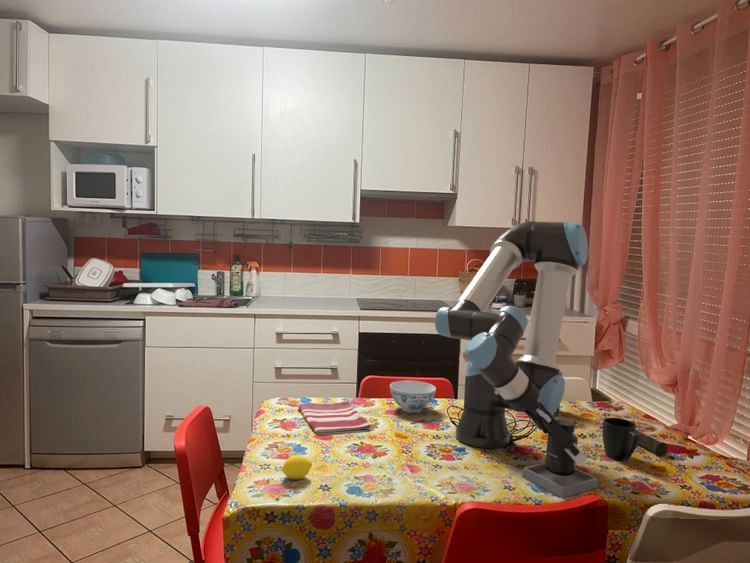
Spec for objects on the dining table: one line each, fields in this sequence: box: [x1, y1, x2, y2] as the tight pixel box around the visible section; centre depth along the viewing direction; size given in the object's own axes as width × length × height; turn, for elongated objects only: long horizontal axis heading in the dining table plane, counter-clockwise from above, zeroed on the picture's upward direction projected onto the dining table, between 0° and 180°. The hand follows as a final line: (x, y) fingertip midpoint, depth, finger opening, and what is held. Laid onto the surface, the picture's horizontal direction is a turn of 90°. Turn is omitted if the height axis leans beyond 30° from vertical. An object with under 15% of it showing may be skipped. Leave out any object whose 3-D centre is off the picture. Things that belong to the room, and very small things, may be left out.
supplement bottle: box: [544, 418, 578, 476], centre depth 136 cm, size 7×7×12 cm
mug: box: [601, 417, 639, 461], centre depth 153 cm, size 8×12×10 cm
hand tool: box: [636, 429, 669, 457], centre depth 166 cm, size 19×4×5 cm, turn 15°
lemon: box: [281, 454, 313, 480], centre depth 132 cm, size 7×5×5 cm
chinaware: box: [389, 380, 437, 414], centre depth 187 cm, size 15×15×8 cm
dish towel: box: [298, 400, 371, 436], centre depth 174 cm, size 17×23×3 cm
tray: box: [521, 462, 599, 498], centre depth 137 cm, size 12×12×2 cm
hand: (574, 455), depth 137 cm, fingers closed on supplement bottle, 7 cm apart
